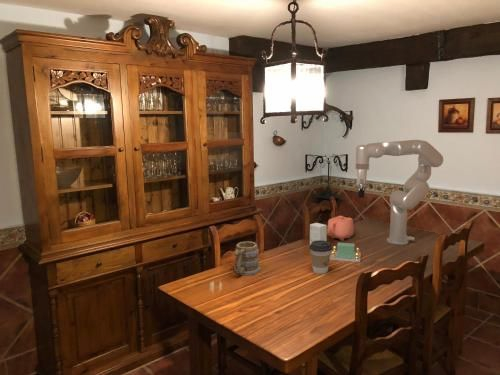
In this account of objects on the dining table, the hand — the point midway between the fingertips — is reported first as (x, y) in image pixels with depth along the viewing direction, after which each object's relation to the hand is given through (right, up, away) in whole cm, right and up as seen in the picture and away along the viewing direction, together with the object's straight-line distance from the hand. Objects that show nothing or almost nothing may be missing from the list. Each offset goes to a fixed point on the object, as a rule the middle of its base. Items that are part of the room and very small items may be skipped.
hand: (361, 195), depth 245 cm
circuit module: (-12, -32, -13) cm, 37 cm away
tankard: (-68, -39, -33) cm, 85 cm away
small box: (-24, -30, +7) cm, 39 cm away
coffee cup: (-29, -38, -33) cm, 58 cm away
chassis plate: (-12, -34, -13) cm, 38 cm away
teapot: (-7, -27, +21) cm, 35 cm away
